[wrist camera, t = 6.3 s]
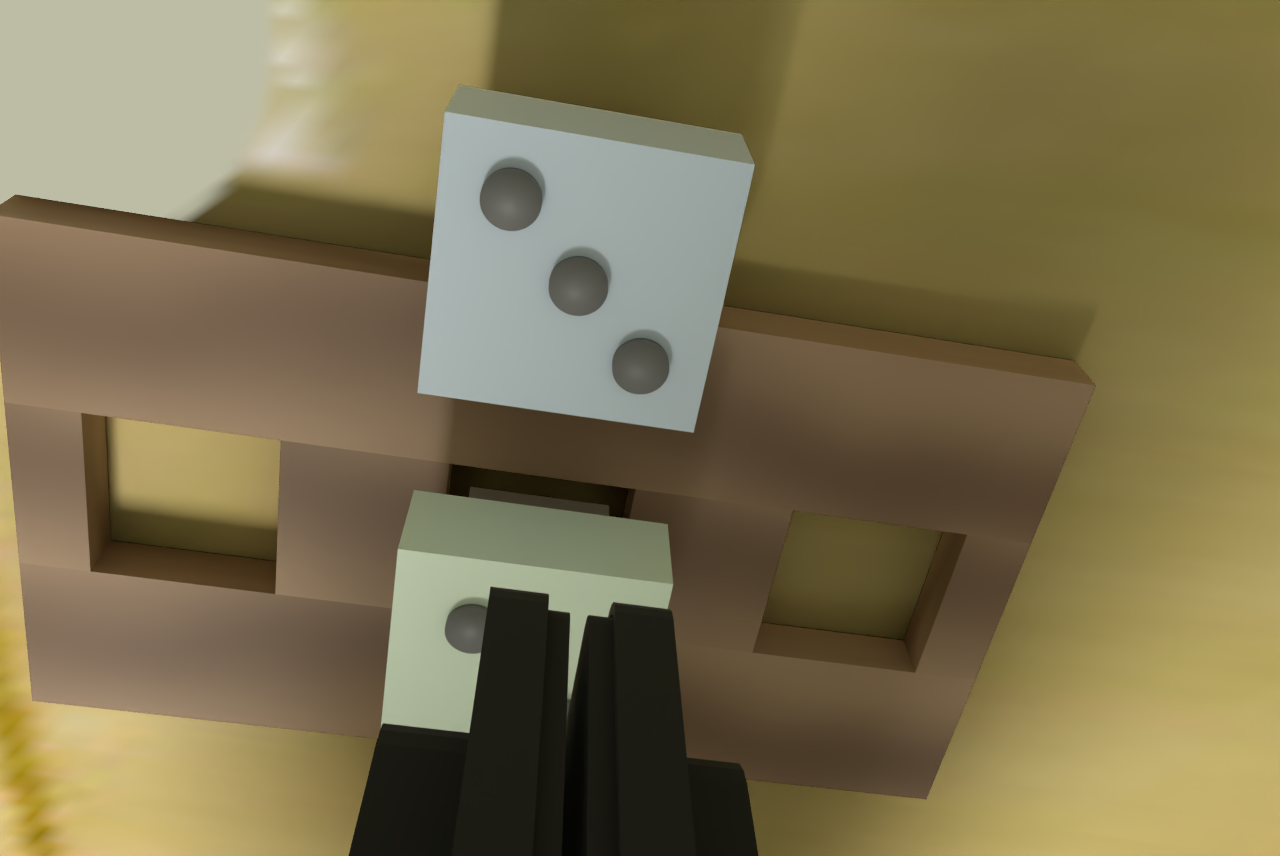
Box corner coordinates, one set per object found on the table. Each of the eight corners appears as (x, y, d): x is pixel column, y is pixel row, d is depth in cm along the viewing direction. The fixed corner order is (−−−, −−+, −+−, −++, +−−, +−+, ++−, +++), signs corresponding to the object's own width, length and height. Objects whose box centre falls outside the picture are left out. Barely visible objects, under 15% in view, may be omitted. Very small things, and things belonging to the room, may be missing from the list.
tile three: (679, 342, 24) (694, 437, 21) (444, 306, 24) (415, 397, 20) (730, 107, 22) (756, 168, 18) (470, 62, 21) (442, 114, 18)
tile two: (622, 653, 27) (626, 789, 23) (407, 627, 26) (376, 762, 22) (662, 472, 24) (673, 590, 21) (427, 439, 24) (396, 555, 20)
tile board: (914, 764, 30) (926, 799, 29) (54, 667, 28) (32, 701, 27) (1075, 360, 25) (1095, 385, 24) (15, 194, 22) (-13, 213, 21)
